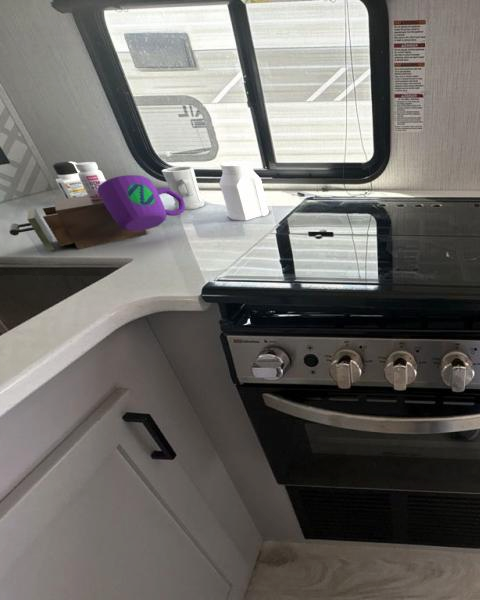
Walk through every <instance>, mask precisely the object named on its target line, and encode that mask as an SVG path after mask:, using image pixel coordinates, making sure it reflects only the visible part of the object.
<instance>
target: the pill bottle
mask: <svg viewBox="0 0 480 600" xmlns="http://www.w3.org/2000/svg"><path fill="white" fill-rule="evenodd" d="M75 166H76V168H77V169H78V171H80V172H79V173H78V176H79V178H80V180H81V182H82V184H83V186H84V188H85V190H86V192H87V194H88V196H89V198H90V199H92V200H100V199H101V198H100V196H99V194H98V187H99V186H100V185H101V184H102V183H103V182H105V181H106V180H107V179H106V178H105V175H104V173H103V172H102V170H100V169H99V167H98V164H97V162H95V161H86V162H83V161H82V162H76V164H75Z"/></svg>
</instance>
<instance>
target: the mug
mask: <svg viewBox="0 0 480 600" xmlns="http://www.w3.org/2000/svg"><path fill="white" fill-rule="evenodd" d="M106 180H107V181H105V182H103V183H102V184H101V185H100V186H99V187H98V194H99V196H100V198H101V199H102V201H103V203H104V205H105V206H106V208H107V210H108V211H109V213H110V215H111V216H112V218H113V219H114V220H115V222H116V223H117V224H118V225H119V226H120V227H121V228H123V229H125V230H129V231H141V230H146V231H147V230H150V229H153V228H156V227H158V226H160V225H161V224H163V223H164V222H165V221H166V219H167V216H168V217H169V216H170V217H171V216H173V217H174V216H179V215H182V214H183V213H184V212H185V211H186V210H185V203H184V200H183V198H182V197H181V196H180V195H178V194H177V193H175V192H174V191H172V190H170V188H166V187H161V188H156V186H155V184H154V183H153V181H152V180H151V179H150V178H148V177H146V176H144V175H143V176H142V175H136V174H127V175H119V176H115V177H111V178H109V179H106ZM164 194H167V195H169V196H171V197H172V198H173V197H174V198H175V199H177V200H178V202H179V209H177V208H176V209H173V210H172V209H171V210H170V209H166V208H165V205H164V203H163V201H162V199H161V196H160V195H164ZM174 198H173V199H174Z"/></svg>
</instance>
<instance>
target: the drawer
mask: <svg viewBox="0 0 480 600" xmlns="http://www.w3.org/2000/svg"><path fill="white" fill-rule="evenodd" d="M41 209H42V211H43V212H44V215H42V217H41V216H40V214H39V212H38V211H37V209H36V207H31V208H27V217H26V219H27V221H28V222H26V223H20V224H18V223H11V224H10V227H9V234H10V235H11V236H19V234H20V233H26V232H31V231H34V232H35V234H36V236H37V237H38V238H39V240H40V242H41V243H42V245H43V246H44V248H45V250H46V251H47V252H50V251H54V250H55V246H54V239H53V238H55V240H56V241H57V243H58V244H59V246H60V247H63V246H67V245H72V244H75V243H74V241H73V240H72V238H71V236H70V234H69V233H68V231H67V229H66V227H65V226H64V224H63V222H62V221H61V219H60V217H59V215H58V214H57V212H56V208H55V205H52V206H46V207H42V208H41ZM42 218H43V219H42ZM43 220H44V221H43ZM45 223H46V224H45ZM47 226H48V227H47ZM48 228H49V229H50V230H49V229H48ZM50 231H51V232H50ZM51 233H52V234H53V236H52V234H51Z"/></svg>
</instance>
